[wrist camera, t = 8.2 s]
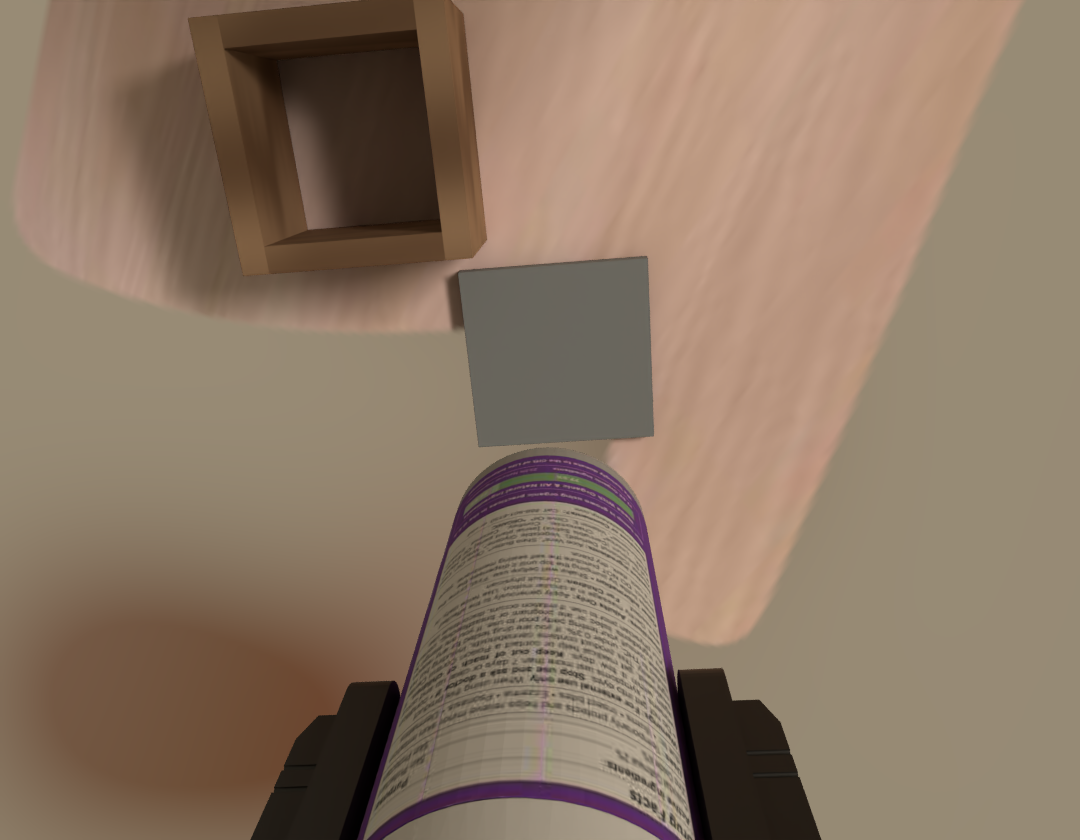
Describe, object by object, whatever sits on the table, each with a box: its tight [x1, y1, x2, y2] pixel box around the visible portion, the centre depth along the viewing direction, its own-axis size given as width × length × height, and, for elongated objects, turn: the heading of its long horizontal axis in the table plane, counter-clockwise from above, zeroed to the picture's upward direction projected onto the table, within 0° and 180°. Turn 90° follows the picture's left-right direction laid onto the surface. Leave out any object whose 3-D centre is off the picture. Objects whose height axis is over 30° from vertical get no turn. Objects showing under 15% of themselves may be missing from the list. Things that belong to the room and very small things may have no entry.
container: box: [357, 448, 705, 840], centre depth 12 cm, size 5×5×15 cm
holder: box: [188, 0, 487, 276], centre depth 29 cm, size 9×9×5 cm
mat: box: [458, 256, 654, 447], centre depth 34 cm, size 8×8×1 cm
